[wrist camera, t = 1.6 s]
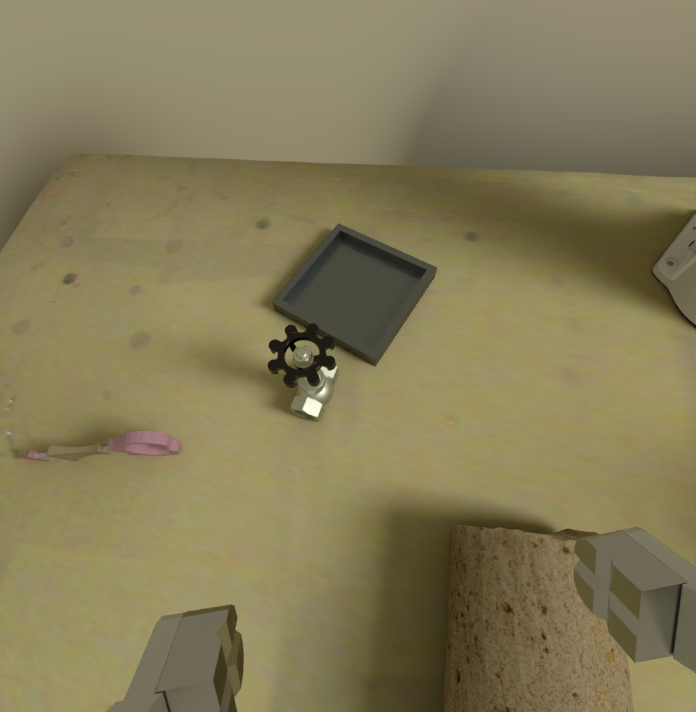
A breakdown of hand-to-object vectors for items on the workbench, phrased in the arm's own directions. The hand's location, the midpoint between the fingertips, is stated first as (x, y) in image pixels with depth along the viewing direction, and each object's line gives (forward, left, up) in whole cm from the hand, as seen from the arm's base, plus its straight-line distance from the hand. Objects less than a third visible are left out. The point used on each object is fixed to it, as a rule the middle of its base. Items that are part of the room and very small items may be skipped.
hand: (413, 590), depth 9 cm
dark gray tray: (-25, -19, -32) cm, 45 cm away
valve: (-10, -15, -32) cm, 37 cm away
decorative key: (+9, -32, -33) cm, 46 cm away
